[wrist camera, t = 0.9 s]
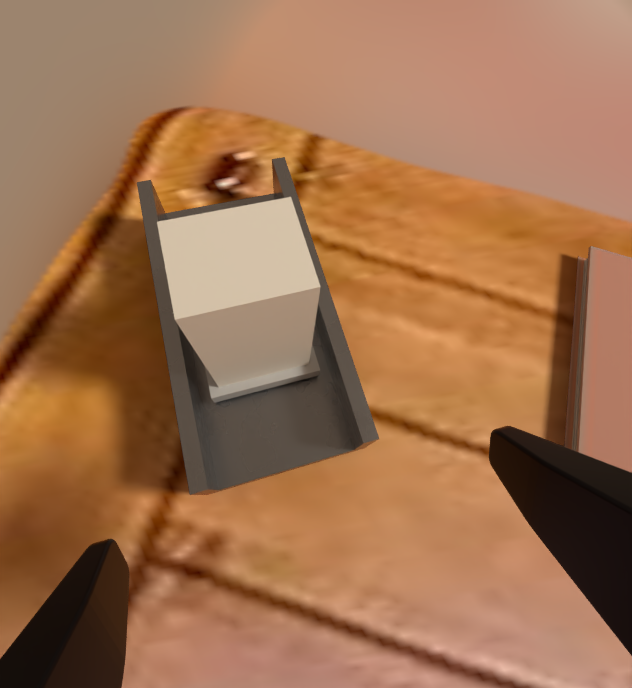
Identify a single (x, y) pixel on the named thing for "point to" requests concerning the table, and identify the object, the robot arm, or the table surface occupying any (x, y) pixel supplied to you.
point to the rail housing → (266, 405)
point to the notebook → (602, 360)
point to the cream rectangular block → (244, 295)
